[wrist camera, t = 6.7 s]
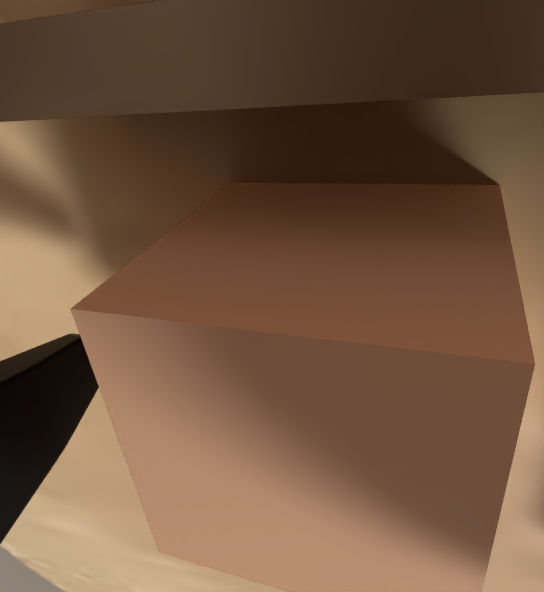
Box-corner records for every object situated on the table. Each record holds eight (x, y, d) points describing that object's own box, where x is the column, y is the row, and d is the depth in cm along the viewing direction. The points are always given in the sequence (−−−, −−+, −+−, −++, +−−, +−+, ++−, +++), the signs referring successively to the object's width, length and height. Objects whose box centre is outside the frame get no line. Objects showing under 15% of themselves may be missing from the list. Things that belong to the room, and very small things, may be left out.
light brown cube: (499, 183, 8) (535, 363, 4) (466, 401, 11) (468, 646, 7) (232, 181, 10) (69, 308, 6) (258, 371, 12) (159, 551, 8)
